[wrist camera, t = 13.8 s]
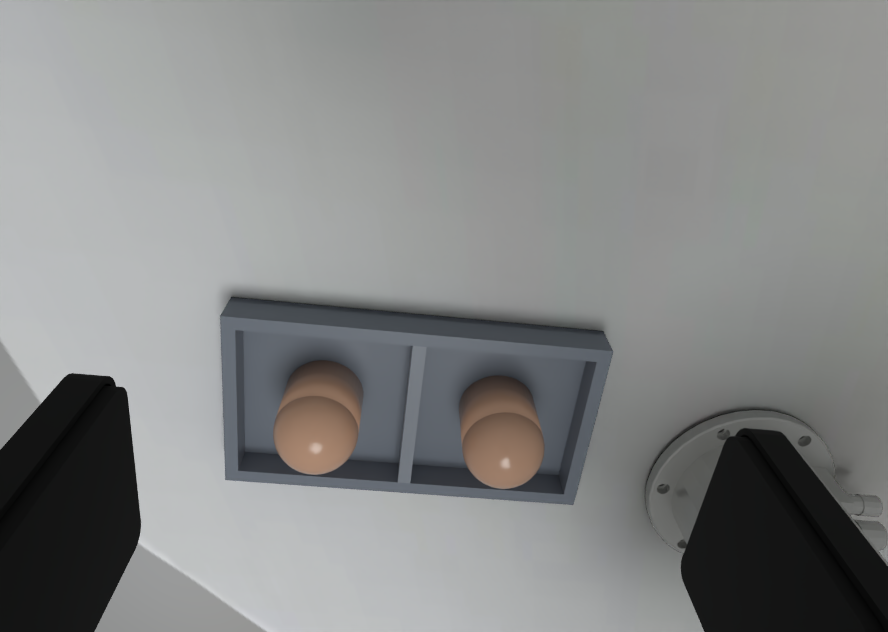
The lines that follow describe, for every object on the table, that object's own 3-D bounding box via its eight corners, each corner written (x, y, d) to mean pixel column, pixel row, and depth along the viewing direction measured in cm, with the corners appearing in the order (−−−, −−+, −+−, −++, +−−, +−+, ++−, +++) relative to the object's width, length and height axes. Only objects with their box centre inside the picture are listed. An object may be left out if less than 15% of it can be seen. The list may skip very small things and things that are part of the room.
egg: (365, 363, 42) (357, 423, 36) (361, 427, 44) (353, 494, 38) (285, 357, 41) (264, 418, 36) (285, 423, 44) (265, 490, 38)
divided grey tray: (603, 331, 42) (613, 351, 40) (566, 479, 47) (573, 504, 45) (231, 297, 40) (220, 316, 38) (235, 455, 45) (225, 479, 43)
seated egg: (540, 378, 43) (558, 441, 37) (527, 441, 45) (542, 509, 39) (463, 372, 42) (470, 434, 37) (454, 435, 44) (459, 503, 39)
